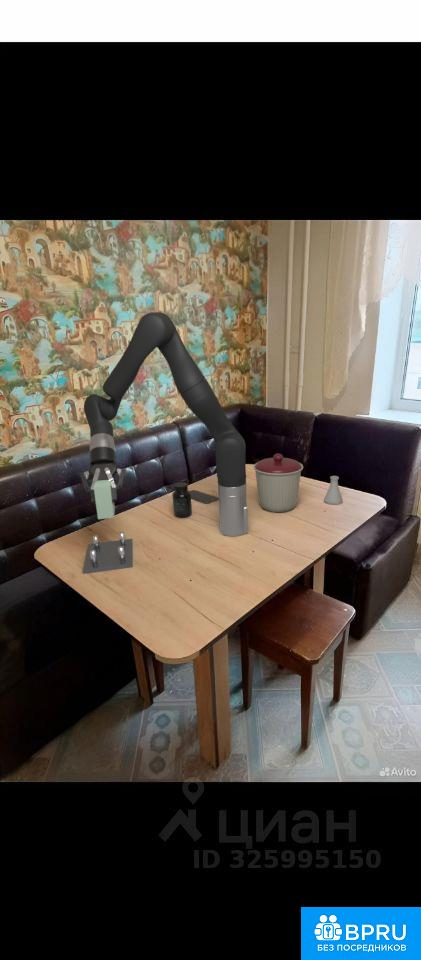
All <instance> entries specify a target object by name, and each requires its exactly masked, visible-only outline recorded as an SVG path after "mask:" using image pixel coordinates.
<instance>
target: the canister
mask: <svg viewBox="0 0 421 960" xmlns="http://www.w3.org/2000/svg"><path fill="white" fill-rule="evenodd" d="M303 465H304V464H302V463H301V462H299V461H298V460H296V459H293V458H288V457H284V456H283V454H281V453H275V454H274V455H273V457H269V458H268V457H267V458H263V459H261V460H259V461H258V462H256V463H255V464H253V465H252V467H253V470H254V471H255V479H256V487H257V494H258V501H259V505H261V507H262V508H263V509H264V510H266V511H267V512H273V513H285V512H289V511H291V510H292V509H294V507H295V506H296V505H297V504H296V503H297V500H298V495H299V490H300V489H299V488H300V481H301V472H302V471H303V469H304V466H303Z"/></svg>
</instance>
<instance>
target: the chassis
mask: <svg viewBox="0 0 421 960" xmlns="http://www.w3.org/2000/svg"><path fill="white" fill-rule="evenodd" d="M118 535H119V536H118V537H119V539H118V540H111V541H102V542H100V541H99V539H100V538H99V535H97V534H95V535H92V541H93V543H89V544H88V545H87V550H86V555H85V557H84V558H85V560H84V564H83V569H82V573H83V574H84V575H85V574H90V573H91V574H92V573H100V572H107V571H108V572H109V571H114V570H115V571H116V570H121V569H122V570H123V569H129V568H134V545H133V544H134V541H133V538H126V537H125V532H124V531H119V533H118Z"/></svg>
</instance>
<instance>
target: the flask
mask: <svg viewBox="0 0 421 960" xmlns="http://www.w3.org/2000/svg"><path fill="white" fill-rule="evenodd" d="M339 478H340V477H339V476H337V475H332V476H331V475H330V478H329V479H330V483H329V486H328V490H327V491H326V492H327V493H326V494H325V496H324V498H323V503H325V502H326V503H325V504H329V505H336V504H338V505H340V504H343V498H342V494H341V492H340V491H341V490H340V487H339V481H338V480H339Z"/></svg>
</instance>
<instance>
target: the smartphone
mask: <svg viewBox="0 0 421 960" xmlns="http://www.w3.org/2000/svg"><path fill="white" fill-rule="evenodd" d="M189 491H190V493H191V500H193V501H196V502H200V503H202V504H204V505H209V504H211V503H214V502H215V501H216V502H217V501H219V497H218V496H215V495H213V494H210V493H209V494H208V493H206V492H205V493H204V492H202V491H199V490H195V489H192V490H189Z"/></svg>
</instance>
